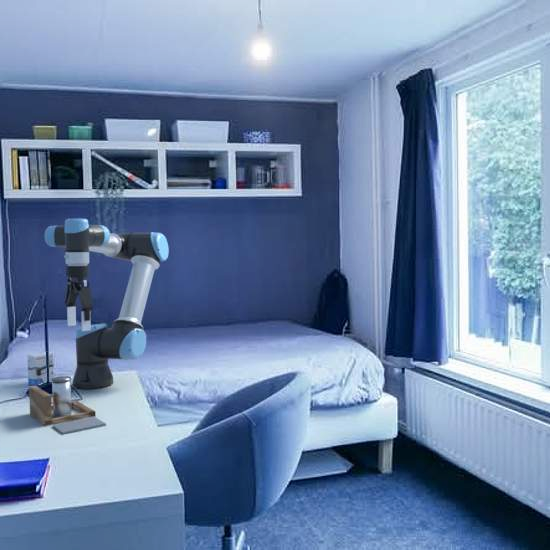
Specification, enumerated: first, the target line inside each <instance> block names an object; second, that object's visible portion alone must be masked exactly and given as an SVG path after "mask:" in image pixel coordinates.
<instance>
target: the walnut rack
mask: <svg viewBox="0 0 550 550" xmlns="http://www.w3.org/2000/svg"><path fill="white" fill-rule="evenodd" d="M28 392H29V393H28V396H29V399H28V400H29V414H30V416H32V417H34V419H36V420H37V421H39V422H40V424H42V425H44V426H45V427H47V426H53V425H55V424H60V423H66V422H71V421H76V420H81V419H86V418H91V417H96V411H95V410H94V409H92V408H90V407H89V406H87V405H85V404H83V403H82V402H80V401H78V400H75V401H71V407H72V408H73V409H75V410H76V411H78V412H80V413H75V414H72V415H69V416H64V417H59V418H56V417H54V418H53V399H52V395H51V394H50V393H48V392H46V391H45V390H43V389H42V388H40V387H39V386H32V385H29V386H28Z"/></svg>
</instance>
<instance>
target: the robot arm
mask: <svg viewBox="0 0 550 550" xmlns="http://www.w3.org/2000/svg"><path fill="white" fill-rule="evenodd" d="M44 240H45V243H46V244H47V246H48V247H51V248H52V247H53V248H54V247H55V248H65V250H64V251H65V255H63V257H64V258H65V264H66V266H65V277H67V279H66V291H65V297H64V302H63V303H64V305H66V316H67V319H66V320H67V327H72V326H74V327H75V326H77V312H76V311H77V308H76V307H77V304H76V301H77V297H78V299H79V302H80V305H81V308H80V312H81V314H80V315H81V326H79V327H78V328H77V329H76V330H75V338H74V339H75V353H76V367H75V371H74V375H73V377H72V387H73V388H75V389H79V388H80V390H93V389H94V388H95V389H101V388H100V387H102V388H107V387H109V385H110V386H111V384H112V385H113V384H114V375H113V373H112V369H111V367H110V365H109V359H110V360H123V361H129V360H137V359H138V358H140V357H141V356H142V355H143V353H144V351H145V349H146V347H147V334H146V331H144V326H143V324H142V320H143V316H144V311H145V309H146V304H147V301H148V296H149V293H150V289H151V285H152V282H153V278H154V273H155V271H156V270H158V269H159V268H160V266H161V262H164V261H167V259H168V258H169V253H170V251H169V249H170V248H169V244H168V240H167V237H166V236H165V235H164V234H163V233H161V232H154V231H151V232H124V233H113V232H110V230H109V229H108V227H107V226H106V225H102V224H89V220H88V219H86V218H66V219H65V221H64V225H58V224H56V225H49V226H48V227H47V228H46V229H45V231H44ZM90 252H95V253H100V254H103V255H104V256H106V257H108V258H114V259H119V260H123V261H128V262H129V261H130V262H131V263H132V268H131V272H130V276H129V278H128V279H129V280H128V283H127V286H126V291H125V294H124V298H123V302H122V305H121V309H120V312H119V316H118V318H117V319H115V320H113V322H112V326H111V327H108V325H107V323H95V324H91V320H92V319H91V311H92V310H94V305H93V299H92V295H91V289H90V280H89V279H88V280H87V279H86V280H85V277H87V278H88V277H90V266H89V265H90ZM88 264H89V265H88ZM106 386H107V387H106Z"/></svg>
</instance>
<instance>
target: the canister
mask: <svg viewBox="0 0 550 550" xmlns="http://www.w3.org/2000/svg"><path fill="white" fill-rule="evenodd" d="M51 381H52V383H51V387H52V389H51V391H52V405H53V411H52V418H53V417H54V418H59V417H64V416H69V415H73V413H72V412H73V411H72V410H73V409H72V408H73V407H71V402H72V383H71V382H72V378H71V376H69V375H62V376H61V375H60V376H54V378H52V379H51Z"/></svg>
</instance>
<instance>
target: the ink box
mask: <svg viewBox="0 0 550 550" xmlns="http://www.w3.org/2000/svg"><path fill="white" fill-rule="evenodd" d="M46 352H47V351H43V352H37V353H32V354H31V353H30V354H28V355H27V376H28V377H27V378H28V379H27V380H28V383H27V384H28V386H36V385H39V384H41V383H44V382H46V380H47V366H46ZM54 362H55V361H54V352H53V353H52V352H49V376H50V381H51V379H52V378H54V377H55V367H54V365H55V363H54ZM39 386H40V385H39Z"/></svg>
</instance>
